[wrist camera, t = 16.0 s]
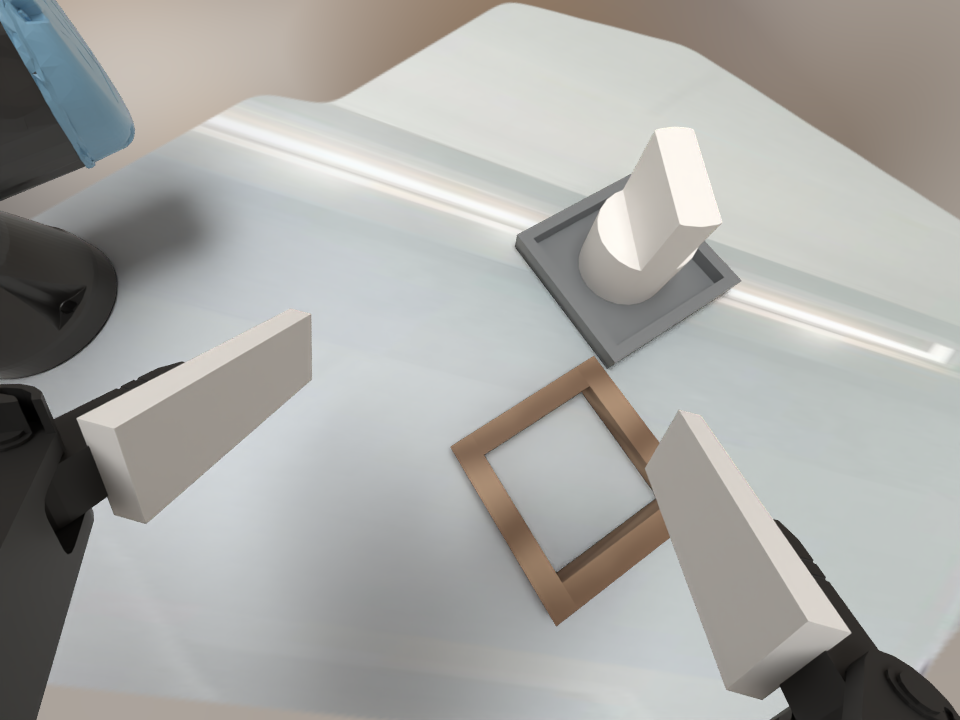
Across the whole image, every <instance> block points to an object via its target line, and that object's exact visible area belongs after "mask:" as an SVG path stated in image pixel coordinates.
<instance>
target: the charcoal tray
mask: <svg viewBox="0 0 960 720" xmlns="http://www.w3.org/2000/svg"><path fill="white" fill-rule="evenodd" d="M630 176H631V174H630V175H628V176H626V177H624V178H622V179H621V180H619V181H617V182H615V183H613V184H611V185H609V186H607V187H606V188H604V189H602V190H600V191H598V192H596V193H594V194H592V195H591V196H589V197H587V198H585V199H583V200H581V201H579V202H578V203H576V204H574V205H572V206H570V207H568V208H566V209H564V210H563V211H561V212H559V213H557V214H555V215H553V216H551V217H549V218H548V219H546V220H544V221H542V222H540V223H538V224H536V225H534V226H533V227H531V228H529V229H527V230H525V231H523V232H521V233H519V234H518V235H517V238H516V244H515V247H516V249H517V250H518V251H519V252H520V254H521V255H522V256H523V258H524V259H525V260H526V262H527V263H528V264H529V266H530V267H531V268H532V270H533V271H534V272H535V274H536V275H537V276H538V278H539V279H540V280H541V282H542V283H543V284H544V286H545V287H546V288H547V290H548V291H549V292H550V293H551V295H552V296H553V297H554V299H555V300H556V301H557V303H558V304H559V305H560V307H561V308H562V309H563V311H564V312H565V313H566V315H567V316H568V317H569V319H570V320H571V321H572V323H573V324H574V325H575V327H576V328H577V329H578V330H579V332H580V333H581V334H582V336H583V337H584V338H585V340H586V341H587V342H588V344H589V345H590V346H591V348H592V349H593V350H594V352H595V353H596V354H597V356H598V357H599V358H600V360H601V361H602V362H603V364H604V365H605V366H606V368H607V369H608V368H609V367H611V366H612V365H614V364H615V363H617V362H618V361H620V360H622V359H623V358H625V357H626V356H628V355H629V354H631V353H632V352H634V351H635V350H637V349H639V348H640V347H642V346H643V345H645V344H646V343H648V342H649V341H651V340H652V339H654V338H656V337H657V336H659V335H660V334H662V333H663V332H665V331H666V330H668V329H669V328H671V327H673V326H674V325H676V324H677V323H679V322H680V321H682V320H683V319H685V318H686V317H688V316H690V315H691V314H693V313H694V312H696V311H697V310H699V309H700V308H702V307H703V306H705V305H707V304H708V303H710V302H711V301H713V300H714V299H716V298H717V297H719V296H720V295H722V294H724V293H725V292H727V291H728V290H730V289H731V288H732V287H734V286H735V285H737V284H738V283H739V282H741V280H740V278H739V277H738V276H737V275H736V274H735V273H734V272H733V271H732V270H731V269H730V268H729V267H728V266H727V265H726V263H725V262H724V261H723V260H722V259H721V258H720V257H719V256H718V255H717V254H716V253H715V252H714V251H713V250H712V248H711V247H710V246H709V245H708V244H707V243H706V242H705V241H704V242H703V243H702V244H701V245H700V246H699V247H698V249H697V251H696V252H695V254H694V256H693V257H692V259H691V260H690V261H689V262H688V263H687V264H686V265H685V266H684V267H683V268H682V269H681V270H679V271H678V272H677V273H676V274H675V275H674V276H673V277H672V278H671V279H670V280H669V281H668V282H667V283H666V284H665V285H664V286H663V287H662V288H661V289H660V290H659V291H658V292H657V293H656V294H655V295H654V296H652V297H651V298H650V299H648V300H646V301H644V302H642V303H637V304H632V305H624V304H616V303H613V302H610V301H606V300H605V299H603V298H601V297H599V296H598V295H596V294H595V293H594V292H593V291H592V290H591V289H590V288H589V287H588V286H587V285H586V283H585V282H584V280H583V278H582V277H581V273H580V270H579V254H580V251H581V248H582V246H583V244H584V242H585V240H586V238H587V236H588V234H589V231H590V229H591V227H592V225H593V223H594V221H595V219H596V217H597V215H598V213H599V211H600V209H601V207H602V206H603V204H604V203H605V202H606V200H607V199H608V198H610V197H611V196H612V195H614V194H615V193H617V192H619V191H622V190H623V189H624V187H625V185H626V183H627V182H628V180H629V178H630Z"/></svg>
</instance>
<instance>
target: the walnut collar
mask: <svg viewBox="0 0 960 720" xmlns="http://www.w3.org/2000/svg"><path fill="white" fill-rule="evenodd" d="M580 392H582V393H583V395H584V396H585V397H586V399H587V400H588V402H589V403H590V404H591V406H592V407H593V408H594V410H595V411H596V413H597V414H598V415H599V417H600V418H601V420H602V421H603V422H604V424H605V425H606V426H607V428H608V429H609V431H610V432H611V433H612V435H613V436H614V438H615V439H616V440H617V442H618V443H619V445H620V446H621V447H622V449H623V450H624V451H625V453H626V454H627V456H628V457H629V458H630V460H631V461H632V463H633V464H634V465H635V467H636V468H637V469H638V471H639V472H640V474H641V475H642V476H643V478H644V479H645V481H646V482H647V483H648V485H649V486H650V487H651V484H650V481H649V478H648V476H647V473H646V470H645V467H646V466H647V464H648V462H649V460H650V459H651V457H652V455H653V454H654V452H655V450H656V448H657V447H658V445H659V442H658V440H657V439H656V438H655V436H654V435H653V434H652V432H651V431H650V430H649V428H648V427H647V426H646V424H645V423H644V422H643V420H642V419H641V418H640V416H639V415H638V414H637V412H636V411H635V410H634V408H633V407H632V406H631V404H630V403H629V402H628V400H627V399H626V398H625V396H624V395H623V394H622V392H621V391H620V390H619V389H618V387H617V386H616V385H615V383H614V382H613V381H612V379H611V378H610V377H609V375H608V374H607V373H606V371H605V370H604V369H603V367H602V366H601V365H600V363H599V362H598V361H597V359H596V358H595V357H594V356H593V357H591V358H590V359H588V360H587V361H585V362H583V363H582V364H580V365H579V366H577V367H576V368H574V369H572V370H571V371H569V372H568V373H566V374H564V375H563V376H561V377H560V378H558V379H557V380H555V381H553V382H552V383H550V384H549V385H547V386H546V387H544V388H542V389H541V390H539V391H538V392H536V393H534V394H533V395H531V396H530V397H528V398H527V399H525V400H523V401H522V402H520V403H519V404H517V405H516V406H514V407H512V408H511V409H509V410H508V411H506V412H504V413H503V414H501V415H500V416H498V417H497V418H495V419H493V420H492V421H490V422H489V423H487V424H486V425H484V426H482V427H481V428H479V429H478V430H476V431H475V432H473V433H471V434H470V435H468V436H467V437H465V438H463V439H462V440H460V441H459V442H457V443H456V444H454V445H452V446H451V449H452V450H453V452H454V454H455V456H456V457H457V459H458V461H459V462H460V464H461V466H462V467H463V469H464V471H465V473H466V474H467V476H468V478H469V479H470V481H471V483H472V484H473V486H474V488H475V490H476V491H477V493H478V495H479V496H480V498H481V500H482V501H483V503H484V505H485V506H486V508H487V510H488V512H489V513H490V515H491V517H492V518H493V520H494V522H495V523H496V525H497V527H498V529H499V530H500V532H501V534H502V535H503V537H504V539H505V540H506V542H507V544H508V545H509V547H510V549H511V551H512V552H513V554H514V556H515V557H516V559H517V561H518V562H519V564H520V566H521V568H522V569H523V571H524V573H525V574H526V576H527V578H528V579H529V581H530V583H531V585H532V586H533V588H534V590H535V591H536V593H537V595H538V596H539V598H540V600H541V601H542V603H543V605H544V607H545V608H546V610H547V612H548V613H549V615H550V617H551V618H552V620H553V622H554V624H555V625H556V626H558V625H559V624H560V623H561V622H563V621H564V620H565V619H566V618H568V617H569V616H570V615H572V614H573V613H574V612H575V611H577V610H578V609H579V608H581V607H582V606H583V605H584V604H586V603H587V602H588V601H590V600H591V599H592V598H593V597H595V596H596V595H597V594H598V593H600V592H601V591H602V590H604V589H605V588H606V587H607V586H609V585H610V584H611V583H613V582H614V581H615V580H616V579H618V578H619V577H620V576H622V575H623V574H624V573H625V572H627V571H628V570H629V569H630V568H632V567H633V566H634V565H636V564H637V563H638V562H639V561H641V560H642V559H643V558H645V557H646V556H647V555H648V554H650V553H651V552H652V551H653V550H655V549H656V548H657V547H659V546H660V545H661V544H662V543H664V542H665V541H666V540H668V539H669V538H670V535H669V533H668V530H667V527H666V525H665V522H664V519H663V516H662V514H661V511H660V508H659V506H658V503H657V500H656V499H655V500H653V501H652V502H651V503H649V504H648V505H647V506H645V507H644V508H643V509H641V510H640V511H639V512H637V513H636V514H635V515H633V516H632V517H631V518H629V519H628V520H627V521H625V522H624V523H623V524H621V525H620V526H619V527H617V528H616V529H615V530H613V531H612V532H611V533H609V534H608V535H607V536H605V537H604V538H603V539H601V540H600V541H599V542H597V543H596V544H595V545H593V546H592V547H591V548H589V549H588V550H587V551H585V552H584V553H583V554H581V555H580V556H579V557H577V558H576V559H575V560H573V561H572V562H571V563H569V564H568V565H567V566H565V567H564V568H563V569H561V570H560V571H559V572H557V573H556V572H555V570H554V569H553V567H552V566H551V564H550V562H549V561H548V559H547V557H546V556H545V554H544V552H543V551H542V549H541V548H540V546H539V544H538V543H537V541H536V539H535V538H534V536H533V534H532V533H531V531H530V530H529V528H528V526H527V525H526V523H525V521H524V520H523V518H522V516H521V515H520V513H519V512H518V510H517V508H516V507H515V505H514V503H513V502H512V500H511V498H510V497H509V495H508V494H507V492H506V490H505V489H504V487H503V485H502V484H501V482H500V481H499V479H498V477H497V476H496V474H495V472H494V471H493V469H492V467H491V466H490V464H489V463H488V461H487V459H486V458H485V456H484V455H485V454H487V453H488V452H490V451H491V450H493V449H494V448H496V447H498V446H499V445H501V444H502V443H504V442H505V441H507V440H508V439H510V438H511V437H513V436H514V435H516V434H517V433H519V432H521V431H522V430H524V429H525V428H527V427H528V426H530V425H531V424H533V423H534V422H536V421H537V420H539V419H541V418H542V417H544V416H545V415H547V414H548V413H550V412H551V411H553V410H554V409H556V408H557V407H559V406H561V405H562V404H564V403H565V402H567V401H568V400H570V399H571V398H573V397H574V396H576V395H577V394H579V393H580ZM651 489H652V487H651ZM652 490H653V489H652Z"/></svg>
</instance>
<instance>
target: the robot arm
mask: <svg viewBox="0 0 960 720" xmlns="http://www.w3.org/2000/svg"><path fill="white" fill-rule="evenodd" d="M134 134H135V128H134V123H133V120H132V118H131V115H130V113H129V111H128V109H127V107H126V105H125V103H124V101H123V100H122V98H121V96H120V94H119V93H118V91H117V90H116V88H115V86H114V85H113V83H112V82H111V80H110V79H109V77H108V75H107V74H106V72H105V71H104V69H103V68H102V66H101V65H100V63H99V62H98V60H97V58H96V57H95V56H94V54H93V53H92V51H91V50H90V48H89V47H88V46H87V44H86V42H85V41H84V39H83V38H82V37H81V35H80V34H79V32H78V31H77V29H76V28H75V27H74V25H73V24H72V22H71V21H70V20H69V18H68V17H67V15H66V14H65V13H64V11H63V10H62V8H61V7H60V6H59V5H58V3H57V1H56V0H0V201H2V200H4V199H7V198H9V197H11V196H14V195H16V194H19V193H21V192H24V191H26V190H28V189H31V188H33V187H36V186H38V185H41V184H43V183H46V182H48V181H50V180H53V179H55V178H58V177H60V176H63V175H65V174H68V173H70V172H73V171H75V170H78V169H80V168H82V167H85V166H86V167H87V168H92V167H94V166H95V162H96V161H98V160H100V159H103V158H105V157H107V156H109V155H111V154H113V153H115V152H117V151H119V150H121V149H124V148H126V147H127V146H128V145H129V144H130V143H131V142H132V141H133V139H134ZM115 295H116V276H115V272H114V269H113V266H112V264H111V263H110V261H109V259H108V258H107V257H106V256H105V255H104V254H103V253H102V252H101V251H100V250H99V249H97V248H96V247H94V246H93V245H91V244H89V243H87V242H86V241H84V240H82V239H81V238H79V237H77V236H76V235H74V234H72V233H70V232H67V231H65V230H62V229H59V228H56V227H51V226H47V225H44V224H41V223H38V222H35V221H32V220H29V219H25V218H22V217H19V216H16V215H13V214H10V213H6V212H3V211H0V379H13V378H21V377H26V376H30V375H34V374H37V373H40V372H43V371H45V370H48V369H50V368H52V367H54V366H56V365H58V364H60V363H62V362H64V361H65V360H67V359H68V358H70V357H72V356H73V355H74V354H76V353H77V352H78V351H79V350H81V349H82V348H83V347H84V346H85V345H86V344H87V343H88V342H89V341H90V340H91V339H92V338H93V337H94V336H95V335H96V334H97V333H98V331H99V330H100V329H101V327H102V326H103V324H104V323H105V321H106V319H107V318H108V316H109V314H110V311H111V309H112V306H113V303H114V300H115ZM311 380H312V348H311V314H310V313H306V312H302V311H298V310H294V309H289V310H287V311H285V312H283V313H281V314H279V315H277V316H275V317H273V318H271V319H269V320H267V321H265V322H263V323H261V324H259V325H257V326H255V327H253V328H252V329H250V330H248V331H246V332H244V333H242V334H240V335H238V336H236V337H234V338H232V339H230V340H228V341H226V342H224V343H222V344H220V345H218V346H216V347H214V348H212V349H211V350H209V351H207V352H205V353H203V354H201V355H199V356H197V357H195V358H193V359H191V360H189V361H187V362H179V363H175V364H171V365H168V366H164V367H160V368H157V369H155V370H153V371H151V372H149V373H147V374H145V375H143V376H141V377H139V378H138V379H137V380H136V381H135V380H133V381H131V382H129V383H127V384H125V385H122V386H121V388H120V389H114V390H112V391H110V392H108V393H106V394H104V395H102V396H100V397H98V398H96V399H94V400H92V401H90V402H88V403H86V404H84V405H82V406H80V407H78V408H76V409H74V410H72V411H69V412H67V413H65V414H63V415H61V416H59V417H57V418H55V419H53V417H52V415H51V412H50V410H49V408H48V405H47V403H46V401H45V398H44V396H43V394H42V392H41V391H40V390H38V389H37V388H36V387H33V386H28V385H22V384H0V720H36V719H37V716H38V712H39V709H40V705H41V702H42V698H43V695H44V691H45V688H46V684H47V681H48V677H49V674H50V670H51V667H52V664H53V660H54V657H55V653H56V650H57V646H58V643H59V639H60V636H61V632H62V629H63V625H64V622H65V618H66V615H67V612H68V608H69V605H70V601H71V598H72V594H73V591H74V587H75V584H76V580H77V577H78V573H79V570H80V566H81V563H82V559H83V556H84V553H85V549H86V546H87V542H88V539H89V535H90V532H91V528H92V525H93V521H94V515H93V510H92V507H94V506H95V505H96V504H98V503H99V502H100V501H102V500H103V499H104V498H106V497H107V498H108V500H109V503H110V505H111V508H112V511H113V513H114V515H116V516H120V517H123V518H127V519H130V520H134V521H137V522H141V523H144V524H147V523H148V522H149V521H150V520H151V519H152V518H154V517H155V516H156V515H157V514H158V513H159V512H160V511H162V510H163V509H164V508H165V507H166V506H167V505H168V504H170V503H171V502H172V501H173V500H174V499H175V498H176V497H178V496H179V495H180V494H181V493H182V492H183V491H184V490H186V489H187V488H188V487H189V486H190V485H191V484H193V483H194V482H195V481H196V480H197V479H198V478H199V477H201V476H202V475H203V474H204V473H205V472H206V471H207V470H209V469H210V468H211V467H212V466H213V465H214V464H215V463H217V462H218V461H219V460H220V459H221V458H222V457H223V456H225V455H226V454H227V453H228V452H229V451H230V450H231V449H233V448H234V447H235V446H236V445H237V444H238V443H240V442H241V441H242V440H243V439H244V438H245V437H246V436H248V435H249V434H250V433H251V432H252V431H253V430H254V429H256V428H257V427H258V426H259V425H260V424H261V423H262V422H264V421H265V420H266V419H267V418H268V417H269V416H270V415H272V414H273V413H274V412H275V411H276V410H277V409H279V408H280V407H281V406H282V405H283V404H284V403H285V402H287V401H288V400H289V399H290V398H291V397H292V396H293V395H295V394H296V393H297V392H298V391H299V390H300V389H301V388H303V387H304V386H305V385H306V384H307V383H308V382H309V381H311ZM645 470H646V473H647V476H648V478H649V481H650V484H651V487H652V489H653V492H654V495H655V497H656V500H657V503H658V506H659V508H660V511H661V514H662V516H663V519H664V522H665V525H666V527H667V530H668V533H669V535H670V538H671V541H672V544H673V546H674V549H675V552H676V555H677V557H678V560H679V563H680V565H681V568H682V571H683V574H684V576H685V579H686V582H687V584H688V587H689V590H690V593H691V595H692V598H693V601H694V603H695V606H696V609H697V612H698V614H699V617H700V620H701V622H702V625H703V628H704V631H705V633H706V636H707V639H708V641H709V644H710V647H711V650H712V652H713V655H714V658H715V660H716V663H717V666H718V669H719V671H720V674H721V677H722V679H723V682H724V685H725V688H726V690H729V691H732V692H736V693H739V694H743V695H746V696H750V697H753V698H757V699H760V700H763V699H764V698H766V697H767V696H768V695H770V694H771V693H772V692H774V691H775V690H776V689H778V688H779V687H781V689H782V692H783V694H784V696H785V698H786V700H787V702H788V704H789V707H787V708H786V709H785V710H783V711H782V712H780V713H779V714H777V715H776V716H774V717H773V718H772V719H770V720H960V717H959V715H958V714H957V713H956V711H955V710H954V708H953V707H952V705H951V704H950V703H949V701H948V700H947V699H946V698H945V697H944V696H943V695H942V694H941V693H940V692H939V691H938V690H937V689H936V688H935V687H934V686H933V685H932V684H931V683H930V682H929V681H928V680H927V679H925V678H924V677H923V676H922V675H921V674H919V673H918V672H917V671H916V670H915V669H913V668H912V667H911V666H909V665H907V664H906V663H904V662H903V661H901V660H899V659H898V658H896V657H894V656H892V655H890V654H887V653H884V652H882V651H879V650H878V649H877V647H876V646H875V644H874V643H873V642H872V640H871V639H870V638H869V636H868V635H867V633H866V632H865V631H864V629H863V628H862V627H861V625H860V624H859V622H858V621H857V620H856V618H855V617H854V615H853V614H852V613H851V611H850V610H849V609H848V607H847V606H846V604H845V603H844V602H843V600H842V599H841V598H840V596H839V595H838V593H837V592H836V591H835V589H834V588H833V586H832V585H831V584H830V582H828V581H826V580H825V578H826V577H825V575H824V574H823V573H822V571H821V570H820V569H819V567H818V566H817V564H814V563H813V559H812V557H811V556H810V555H809V553H808V552H807V551H806V549H805V548H804V546H803V545H802V544H801V542H800V541H799V540H798V539H797V538H796V537H795V536H794V535H793V534H792V533H791V532H790V531H789V530H788V529H787V528H786V527H785V526H784V525H783V524H782V523H781V522H780V521H778V520H775V519H772V517H771V516H770V514H769V513H768V511H767V510H766V509H765V507H764V506H763V504H762V503H761V501H760V500H759V498H758V497H757V496H756V494H755V493H754V491H753V490H752V488H751V487H750V485H749V484H748V483H747V481H746V480H745V478H744V477H743V475H742V474H741V472H740V471H739V470H738V468H737V467H736V465H735V464H734V462H733V461H732V459H731V458H730V457H729V455H728V454H727V452H726V451H725V449H724V448H723V446H722V445H721V443H720V442H719V441H718V439H717V438H716V436H715V435H714V433H713V432H712V430H711V429H710V428H709V426H708V425H707V423H706V422H705V420H704V419H703V417H702V416H701V415H697V414H693V413H689V412H686V411H682V410H678V412H677V414H676V416H675V417H674V419H673V421H672V423H671V424H670V426H669V428H668V429H667V431H666V433H665V435H664V436H663V438H662V440H661V441H660V443H659V445H658V447H657V448H656V450H655V452H654V454H653V455H652V457H651V459H650V460H649V462H648V464H647V466H646V467H645Z"/></svg>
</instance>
